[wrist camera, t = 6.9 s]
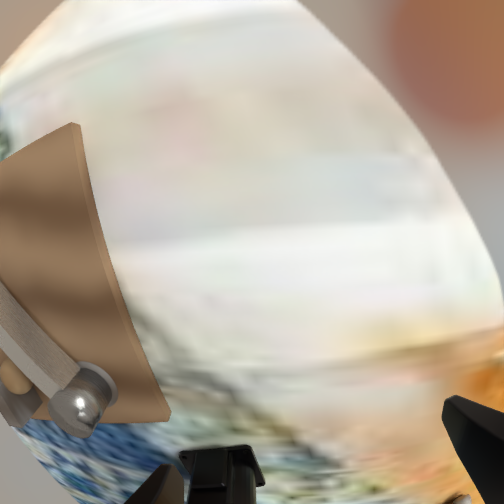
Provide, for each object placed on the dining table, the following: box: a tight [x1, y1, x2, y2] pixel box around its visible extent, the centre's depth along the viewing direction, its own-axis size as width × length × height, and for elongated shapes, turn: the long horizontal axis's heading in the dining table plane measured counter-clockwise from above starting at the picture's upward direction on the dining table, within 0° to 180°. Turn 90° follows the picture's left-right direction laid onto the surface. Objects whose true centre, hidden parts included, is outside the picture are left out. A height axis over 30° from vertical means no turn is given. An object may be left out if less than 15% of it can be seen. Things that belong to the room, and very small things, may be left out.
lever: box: [0, 281, 112, 438], centre depth 16 cm, size 17×4×4 cm, turn 46°
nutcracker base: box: [0, 122, 171, 428], centre depth 17 cm, size 22×16×5 cm
